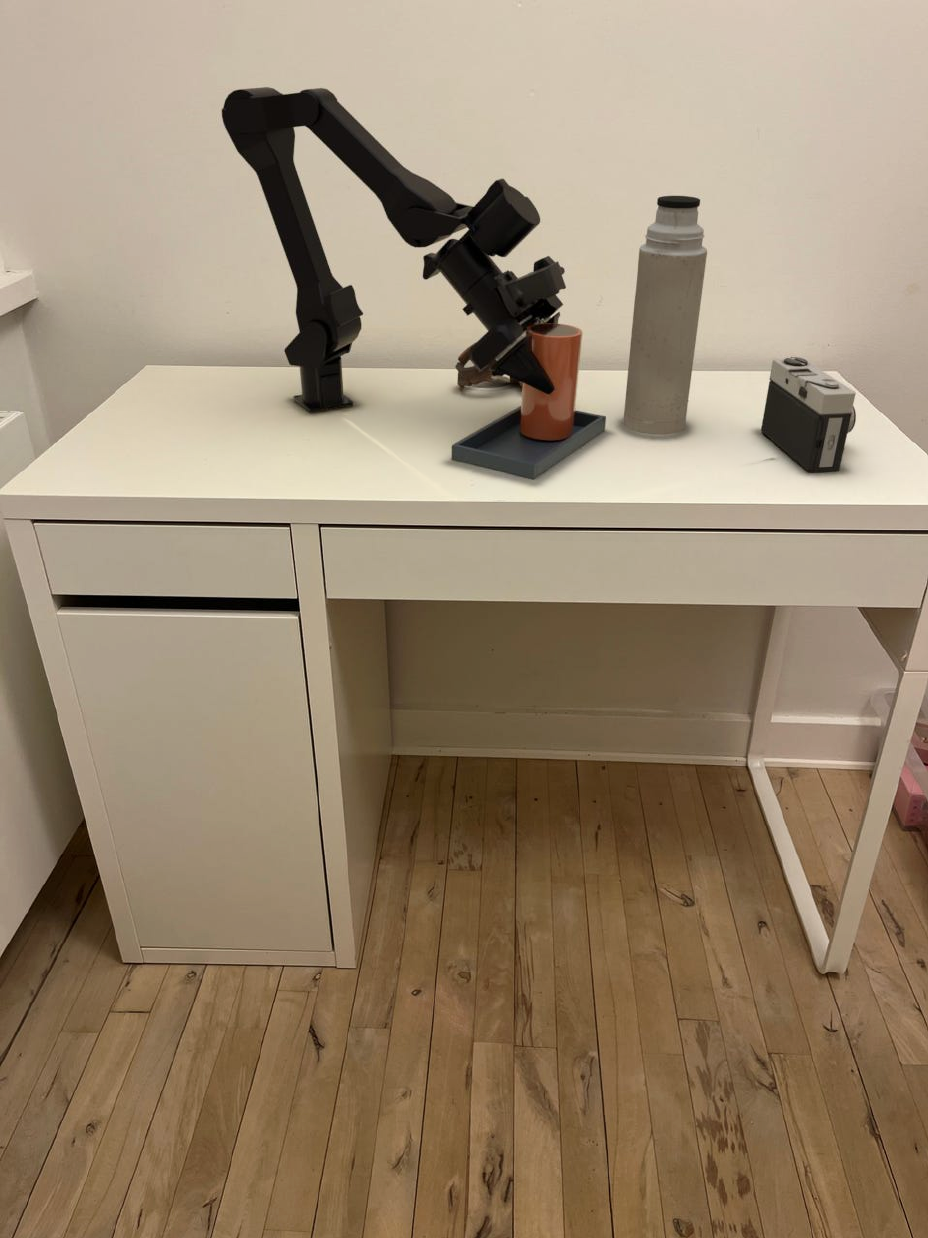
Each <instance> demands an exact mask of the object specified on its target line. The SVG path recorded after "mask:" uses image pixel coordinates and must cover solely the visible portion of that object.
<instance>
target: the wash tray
mask: <svg viewBox="0 0 928 1238" xmlns="http://www.w3.org/2000/svg"><path fill="white" fill-rule="evenodd" d="M520 416H521V405H520V406H518V407H516V408H515V409H512V410H511V411H509V412H508V413H506V414H504V415H502V416H500V417H499V418H497V419H495V420H493V421H491V422H490V423H488V424H487V425H485V426H483V427H481V428H479V429H477V430H475V431H474V432H472V433H470V434H469V435H467V436H465V437H463V438H461V439H460V440H458V441H456V442H455V443H453V444H452V445H451V461H453V462H454V461H456V462H458V463H463V464H467V465H471V466H475V467H480V468H482V469H483V468H484V469H488V470H492V471H496V472H500V473H504V474H507V475H512V476H515V477H516V476H517V477H521V478H525V479H528V480H535V479H537V478H538V477H540V476H541V475H543V474H544V473H545V472H547V471H549V470H550V469H551V468H554V466H556V465H557V464H559V463H560V462H561V461H563V460H565V459H566V458H567V457H568V456H570V455H572V454H573V453H574V452H576V451H577V450H579V449H580V448H581V447H583V446H585V445H586V444H588V443H589V442H590V441H592V440H593V439H594V438H596V437H597V436H599V435H600V434H602V433H603V432H604V431H606V423H607V416H606V415H601V414H596V413H590V412H585V411H581V410H576V409H575V417H574V427H573V434H572V436H570V437H569V438H566V439H562V440H554V441H547V440H538V439H533V438H530V437H527V436H525V435H523V434H522V433H521V432H520Z"/></svg>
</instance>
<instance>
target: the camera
mask: <svg viewBox="0 0 928 1238" xmlns="http://www.w3.org/2000/svg"><path fill="white" fill-rule="evenodd" d="M768 380H769V383H768V387H767V393H766V399H765V405H764V410H763V417H762V422H761V427H760V431H761V433H762V434H764V435H765V436H766V437H767V439H769V440H771V441H772V442H773V443H774V444H775V445H776V446H778V447H779V448H780V449H781V450H782V451H784V452H785V454H787V455H788V456H790V457H791V458H792V459H793V460H794V461H796V462H797V463H798V464H799V465H800V466H802V467H803V468H804V469H805V470H806V471H807V472H809V473H823V472H839V471H840V469H841V464H842V459H843V455H844V451H845V446H846V441H847V436H848V434H849V433H851V432H852V431H853V429H854V428H855V425H856V421H857V414H856V408H855V406H854V402H855V400H856V399H855V398H856V394H857V393H856V391H855V390H853V389H852V388H851V387H848V386H847V385H845V384H844V383H843V382H840V381H839V380H838V379H836V378H834V377H832V376H831V375H830V374H828V373H827V372H825V371H824V370H822V369H820V368H819V367H817V366H815V365H814V364H812V363H811V362H809V361H808V360H807V359H805V358H802V357H797V356H796V357H795V356H791V357H786V358H774V359H772V363H771V369H770V375H769V379H768Z"/></svg>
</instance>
